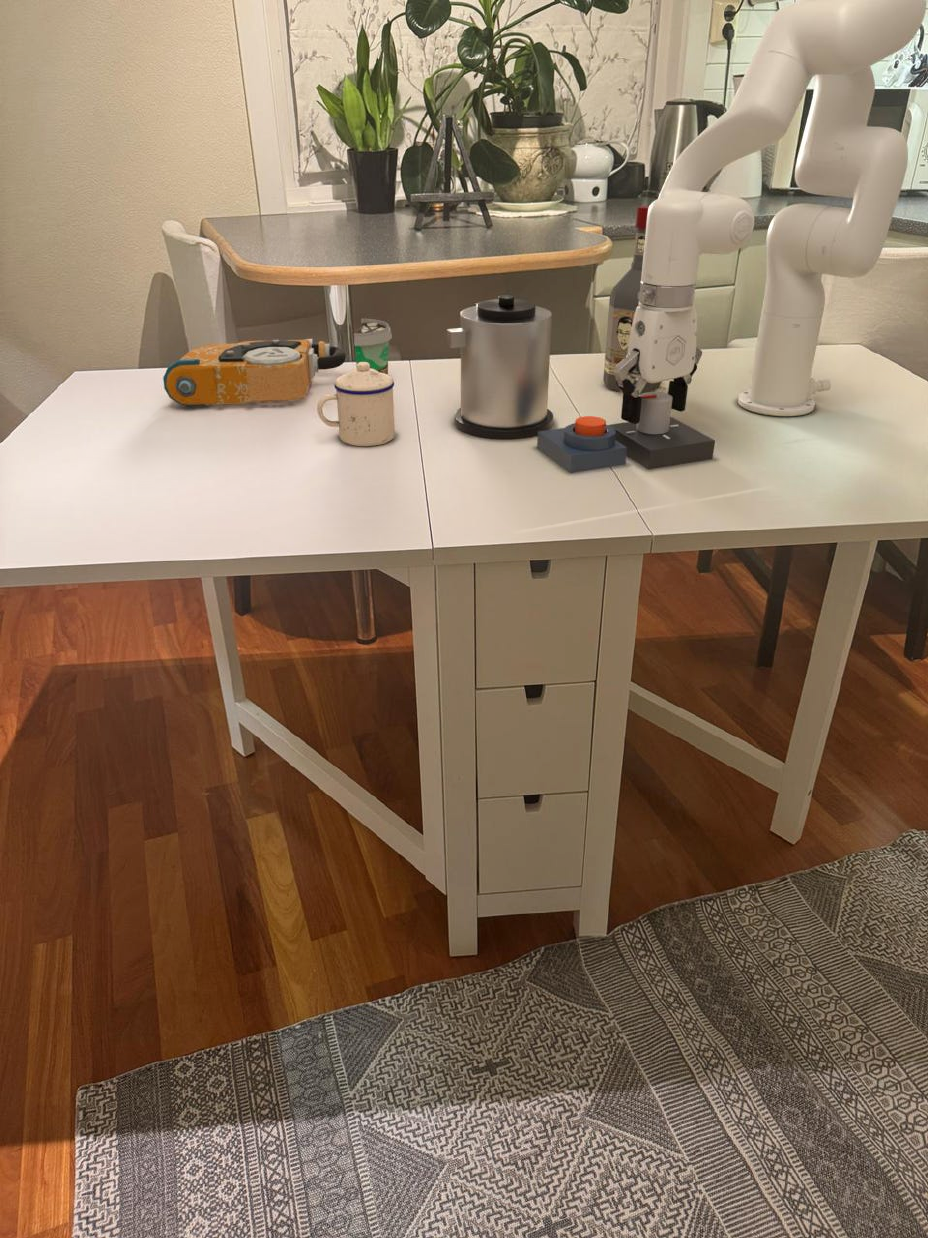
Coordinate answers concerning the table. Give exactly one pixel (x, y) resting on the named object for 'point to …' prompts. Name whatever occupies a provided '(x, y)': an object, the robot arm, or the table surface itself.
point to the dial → (655, 413)
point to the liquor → (625, 309)
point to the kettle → (503, 369)
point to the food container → (373, 344)
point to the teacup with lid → (363, 407)
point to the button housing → (581, 449)
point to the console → (664, 445)
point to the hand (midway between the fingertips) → (653, 415)
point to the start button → (590, 426)
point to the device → (249, 372)
